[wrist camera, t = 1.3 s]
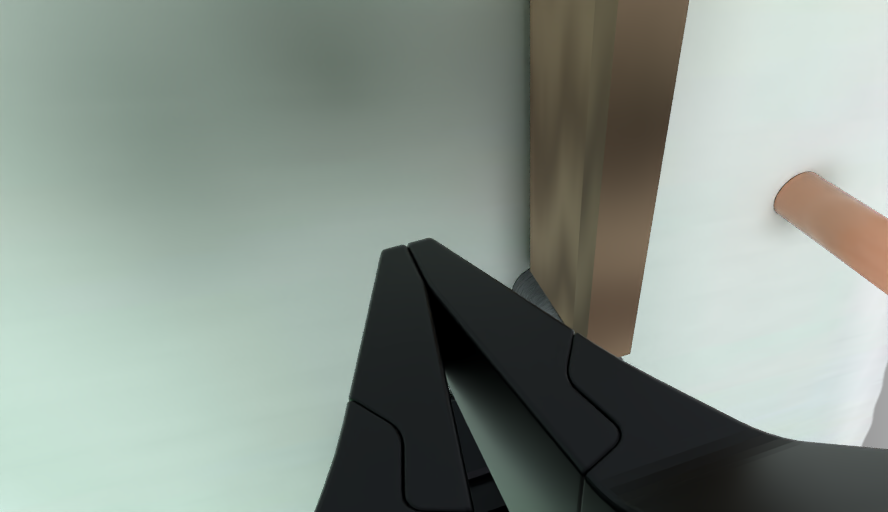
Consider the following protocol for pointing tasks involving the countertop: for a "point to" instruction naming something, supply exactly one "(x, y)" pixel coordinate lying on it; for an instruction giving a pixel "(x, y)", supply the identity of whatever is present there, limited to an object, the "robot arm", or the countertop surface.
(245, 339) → the countertop surface
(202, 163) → the countertop surface
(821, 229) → the catch post
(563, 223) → the brown long plank slab
